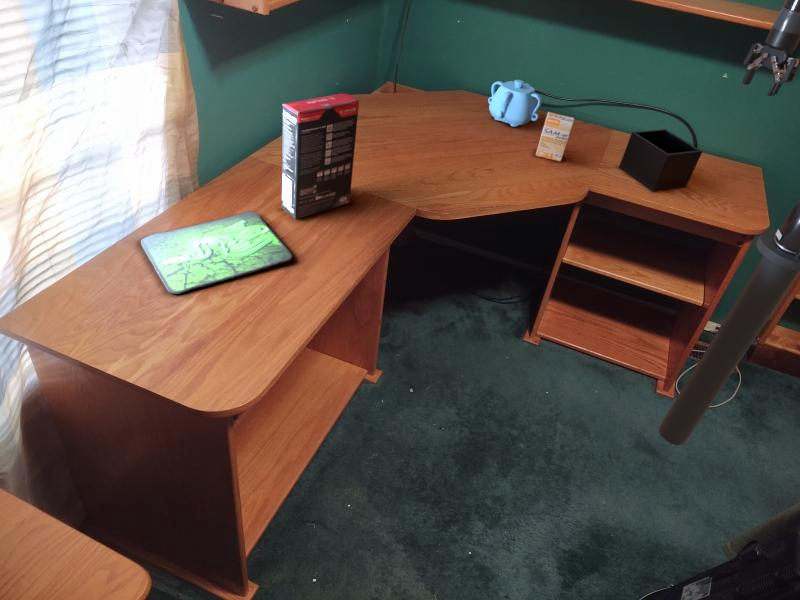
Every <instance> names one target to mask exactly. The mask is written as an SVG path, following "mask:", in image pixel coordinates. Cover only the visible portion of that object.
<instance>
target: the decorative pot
mask: <svg viewBox="0 0 800 600" xmlns="http://www.w3.org/2000/svg"><path fill="white" fill-rule="evenodd" d="M497 85H499V87H498V88H497V90H496V87H497ZM490 90H491V96H489V97H488V100H487V102H488V104H489V105H488V108H489V113H490V115H491V117H493V118H494V120H495V121H498V122H499V121H501V122H503V123H506V124H509V125H510V126H511V127H515V128H516V127H518V126H524V125H526V124H528V123H530V122H531V121H533V122H537V121H538V120H539V119H540V114H539V113H538V111H539V110H540V108H541V106H542V103H543V99H542V97H541V96H540V94H538V93H536V89H535V87H532V85H531V84H530V83H528V82H525V81H524V80H521V79H514V80H509V81H505V82H503V81H502V80H501V81H500V80H499V81H498V80H497V81H494V82H493V84H492V85H491V89H490Z"/></svg>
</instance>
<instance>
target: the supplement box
mask: <svg viewBox="0 0 800 600" xmlns="http://www.w3.org/2000/svg"><path fill="white" fill-rule="evenodd" d="M574 120H575V117H573V116H567V115H563V114H560V113H556V112H552V111H548V112H547V113H546V118H545V121H544V125H543V127H542V131H541V134H540V138H539V142H538V145H537V148H536V152H535V157H537V158H538V157H539V158H543V159H547V160H552V161H556V162H559V163H560V162H562V159H563V156H564V154H565V153H564V152H565V150H566V147H567V143H568V140H569V138H570V134H571V131H572V128H573V125H574Z"/></svg>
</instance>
